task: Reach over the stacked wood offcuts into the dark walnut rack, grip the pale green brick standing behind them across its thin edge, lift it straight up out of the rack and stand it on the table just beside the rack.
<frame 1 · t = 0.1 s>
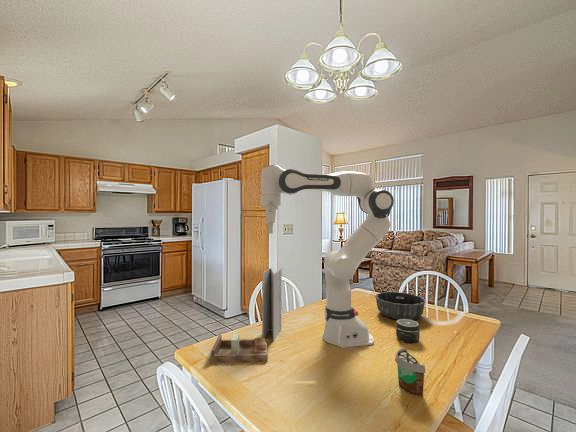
hand: (270, 232, 128), 48 cm above the table, tool pointing down, fingers open, 8 cm apart
offcut b: (260, 346, 116), point 3 cm above the table, touching offcut a
rack: (241, 354, 115), on the table
jar: (407, 339, 129), on the table
bundt pan: (399, 315, 161), on the table
offcut a: (260, 352, 116), point 1 cm above the table, touching offcut b, rack
pale green brick: (235, 353, 115), point 1 cm above the table, touching rack
brochure: (272, 335, 134), on the table
food container: (405, 387, 94), on the table
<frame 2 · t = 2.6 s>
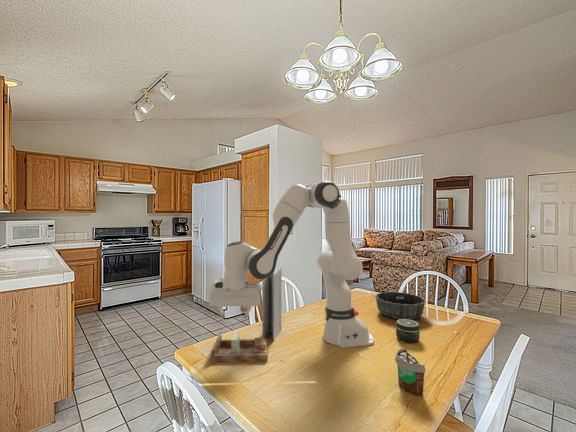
hand: (234, 316, 115), 15 cm above the table, tool pointing down, fingers open, 8 cm apart
nothing on the table moved.
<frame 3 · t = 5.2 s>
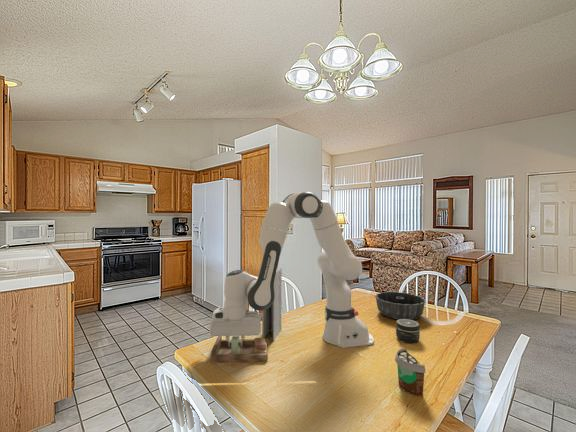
hand: (235, 345, 115), 4 cm above the table, tool pointing down, fingers closed on pale green brick, 2 cm apart
pale green brick: (235, 353, 115), point 1 cm above the table, touching gripper, rack
everything else where it was.
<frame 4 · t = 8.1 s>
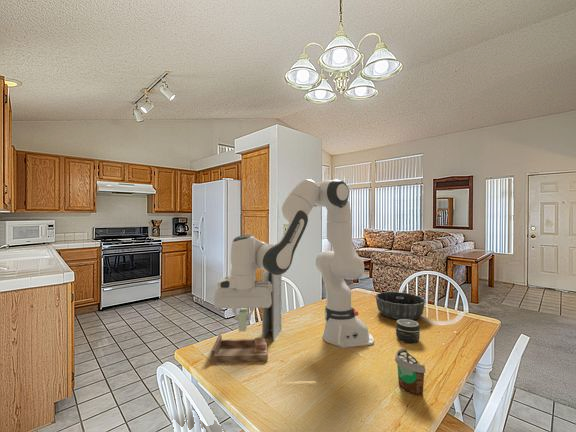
hand: (243, 319, 102), 19 cm above the table, tool pointing down, fingers closed on pale green brick, 2 cm apart
pale green brick: (243, 327, 102), point 16 cm above the table, touching gripper
everything else where it was.
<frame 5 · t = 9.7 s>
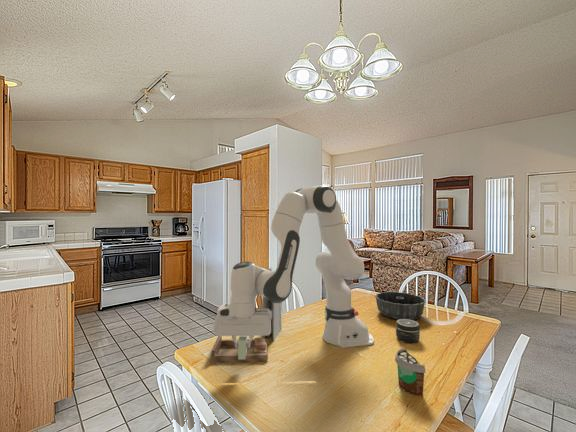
hand: (242, 347, 102), 9 cm above the table, tool pointing down, fingers closed on pale green brick, 2 cm apart
pale green brick: (242, 355, 102), point 6 cm above the table, touching gripper
everything else where it was.
when the fingers open (4 cm above the table, at t = 11.0 s): pale green brick stays where it is, on the table.
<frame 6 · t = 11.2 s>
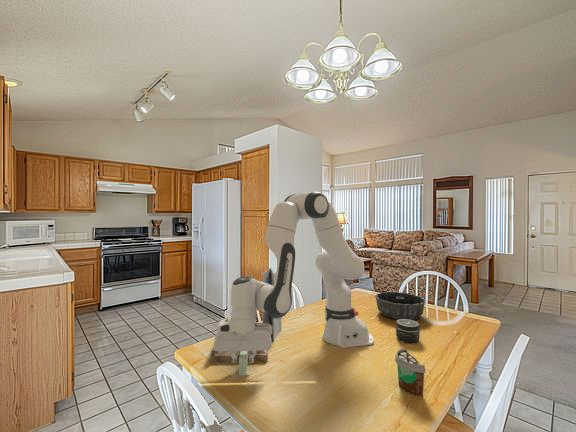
hand: (243, 362, 102), 4 cm above the table, tool pointing down, fingers open, 4 cm apart
pale green brick: (243, 372, 102), on the table
everything else where it was.
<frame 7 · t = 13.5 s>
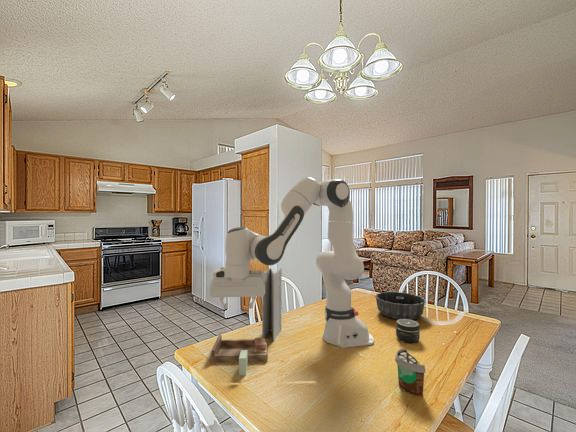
hand: (238, 308, 107), 21 cm above the table, tool pointing down, fingers open, 8 cm apart
nothing on the table moved.
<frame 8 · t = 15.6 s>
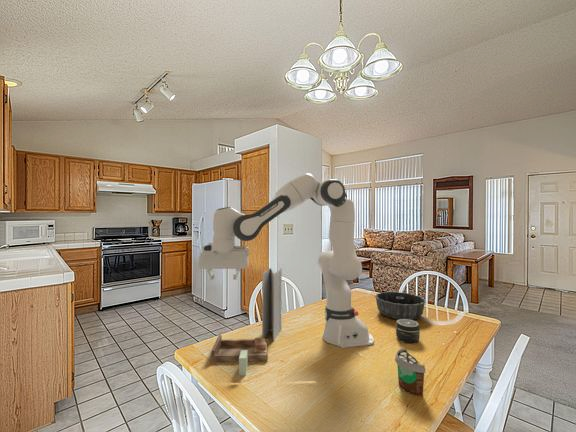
hand: (223, 279, 120), 29 cm above the table, tool pointing down, fingers open, 8 cm apart
nothing on the table moved.
at the end: pale green brick inside the target area (0.1 cm from its centre), on the table; pale green brick touching table; the gripper is holding nothing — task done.
